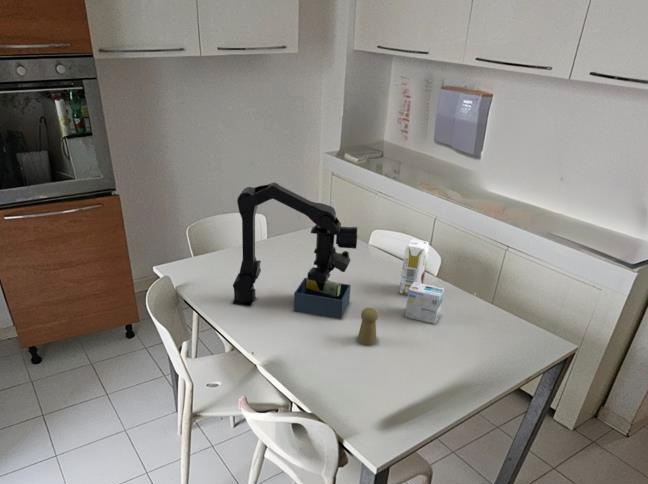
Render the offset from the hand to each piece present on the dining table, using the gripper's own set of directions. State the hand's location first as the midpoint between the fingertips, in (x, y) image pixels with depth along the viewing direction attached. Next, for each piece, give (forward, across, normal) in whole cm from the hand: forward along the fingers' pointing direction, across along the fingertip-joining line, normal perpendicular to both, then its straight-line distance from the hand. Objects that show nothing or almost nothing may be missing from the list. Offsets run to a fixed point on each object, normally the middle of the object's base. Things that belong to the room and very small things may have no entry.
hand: (322, 288), depth 179 cm
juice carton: (+7, +22, -28) cm, 36 cm away
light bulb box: (+7, +5, -34) cm, 35 cm away
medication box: (+1, 0, 0) cm, 1 cm away
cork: (+7, -16, -19) cm, 26 cm away
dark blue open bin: (+7, 0, 0) cm, 7 cm away
